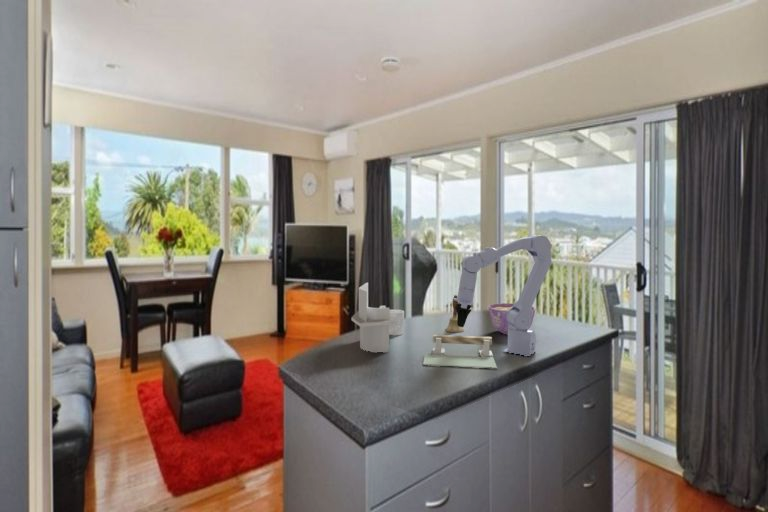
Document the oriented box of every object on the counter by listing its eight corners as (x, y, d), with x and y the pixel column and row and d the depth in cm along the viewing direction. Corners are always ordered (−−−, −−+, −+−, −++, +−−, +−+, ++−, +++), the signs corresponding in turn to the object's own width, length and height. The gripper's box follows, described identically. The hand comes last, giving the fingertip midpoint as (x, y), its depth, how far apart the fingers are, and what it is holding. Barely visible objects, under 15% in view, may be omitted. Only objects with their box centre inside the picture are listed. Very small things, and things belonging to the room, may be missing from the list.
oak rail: (491, 343, 152) (491, 336, 152) (491, 345, 150) (492, 338, 149) (433, 340, 155) (433, 334, 155) (433, 342, 153) (433, 336, 153)
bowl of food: (486, 337, 177) (486, 310, 176) (488, 326, 196) (489, 302, 195) (536, 340, 171) (537, 312, 170) (534, 329, 190) (534, 304, 189)
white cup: (383, 332, 184) (383, 310, 183) (399, 330, 187) (399, 308, 187) (391, 336, 177) (391, 313, 176) (407, 334, 180) (407, 312, 180)
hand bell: (462, 328, 192) (463, 294, 191) (464, 332, 184) (465, 297, 183) (444, 328, 193) (445, 293, 192) (445, 332, 185) (446, 296, 184)
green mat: (493, 359, 146) (493, 357, 146) (496, 369, 136) (496, 367, 135) (424, 355, 150) (424, 354, 150) (423, 365, 139) (423, 363, 139)
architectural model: (410, 353, 153) (410, 290, 152) (354, 359, 146) (354, 293, 145) (384, 335, 180) (384, 281, 178) (336, 339, 173) (336, 283, 171)
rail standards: (491, 352, 154) (491, 336, 154) (492, 357, 148) (493, 341, 148) (433, 350, 157) (433, 334, 157) (432, 354, 151) (432, 338, 151)
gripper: (456, 284, 161) (450, 319, 162) (455, 288, 147) (448, 326, 147) (475, 288, 159) (469, 322, 160) (475, 292, 145) (469, 330, 146)
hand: (460, 324), depth 154 cm, fingers open, 7 cm apart
